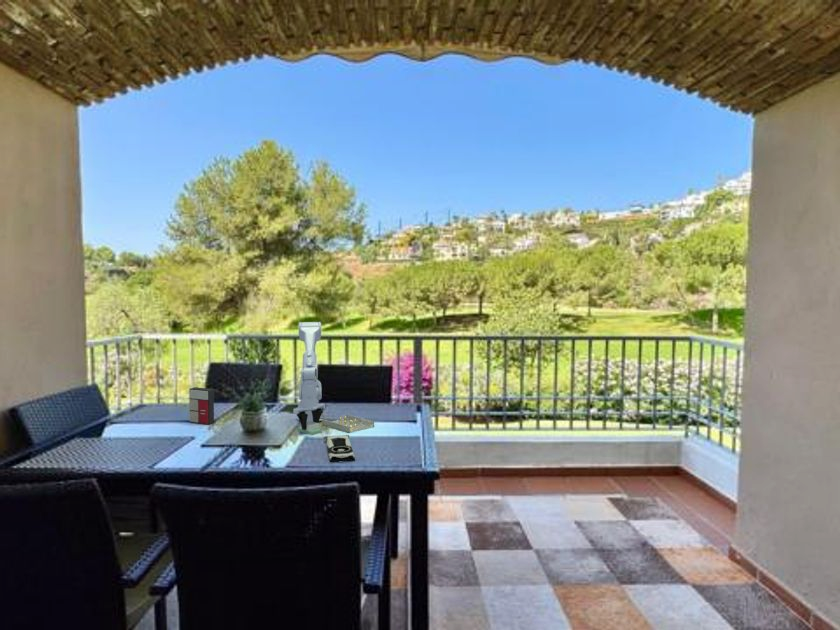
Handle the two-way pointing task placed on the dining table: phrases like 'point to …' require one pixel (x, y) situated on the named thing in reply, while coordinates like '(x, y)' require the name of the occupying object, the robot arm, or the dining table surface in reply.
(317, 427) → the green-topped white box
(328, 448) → the graphics card
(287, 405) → the dining table surface
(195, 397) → the toy cabinet
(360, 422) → the chassis
